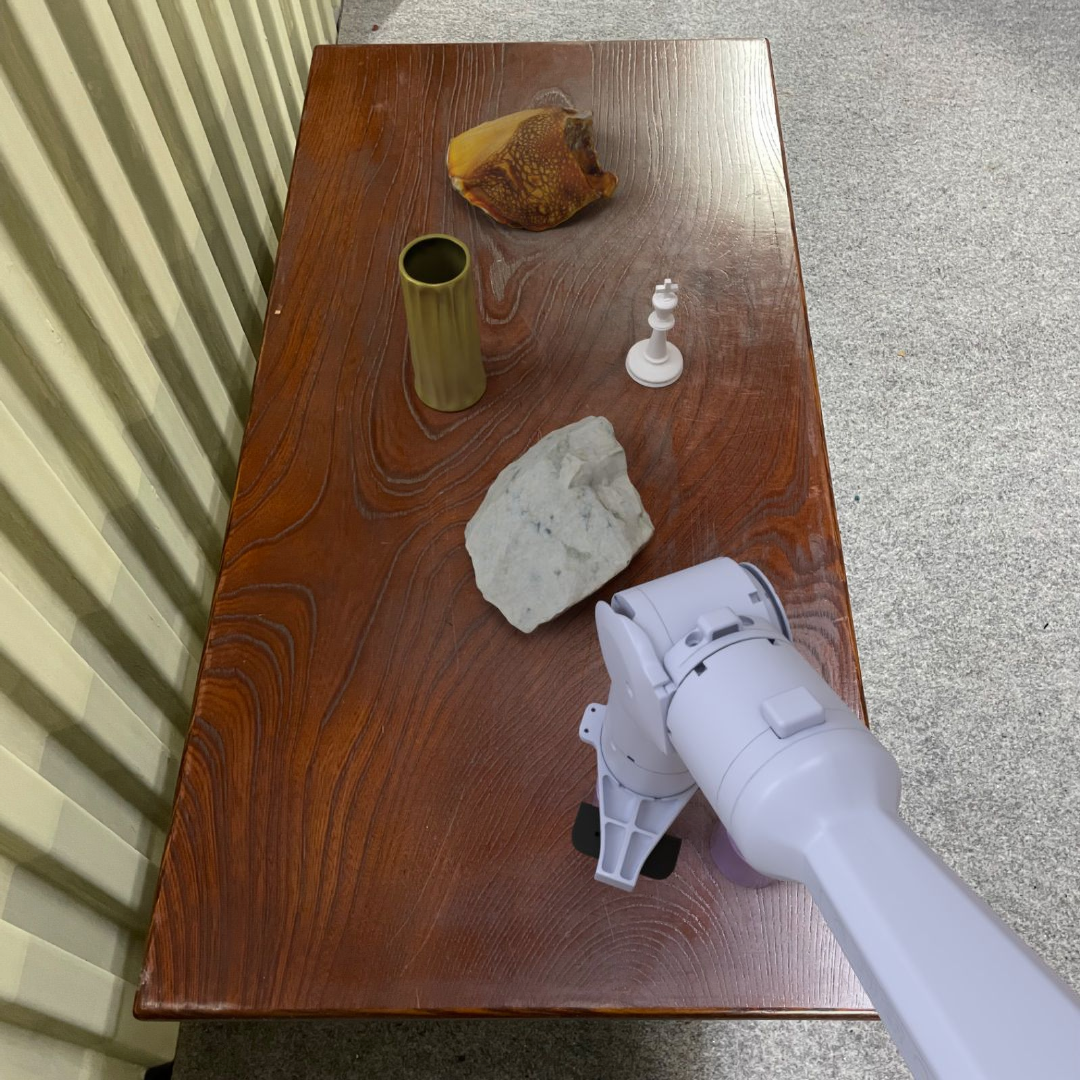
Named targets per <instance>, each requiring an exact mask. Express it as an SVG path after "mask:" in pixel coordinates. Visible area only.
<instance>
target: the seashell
mask: <svg viewBox="0 0 1080 1080" xmlns="http://www.w3.org/2000/svg"><path fill="white" fill-rule="evenodd" d="M595 113H596V111H595V110H594V109H589V110H586V109H584V110H578V109H576V108H573V107H566V106H565V107H564V106H558V105H551V104H547V105H544V106H539V107H536V108H535V107H534V108H527V109H524V110H521V111H517V112H513V113H510V114H507V115H504V116H501V117H498V118H496V119H493V120H490V121H484V122H483V123H481V124H478V125H477V126H474V127H472V128H470V129H468V130H466V131H464V132H462V133H460V134H459V135H457V136H455V137H451V138H450V140H449V143H448V147H447V152H446V158H445V159H446V162H445V164H446V167H447V173H448V178H449V180H450V181H451V186H452V188H453V190H454V191H455V192H457V193H459V195H461V197H462V198H464V199H466V200H467V201H468V202H469V203H470V205H471V206H476V207H478V208H479V209H481V210H482V211H483V213H485V214H487V215H489V216H490V217H492V218H493V219H494V220H495V221H496V222H498V223H500V224H502V225H507V226H509V227H511V228H513V229H515V228H517V229H523V228H525V229H527V230H529V231H531V232H541V231H545V230H547V229H553V228H556V227H557V226H558V225H559V224H561V223H564V222H566V221H567V220H568V219H570V218H571V217H572V216H574V215H575V213H577V211H579V210H581V209H583V208H584V207H586V206H587V205H588V204H589V203H591V202H594V201H596V200H598V199H600V198H601V199H602V200H608V199H611V198H612V196H613V195H614V193H615V191H616V189H617V187H618V185H619V184H620V175H619V174H618V173H612V172H611V171H607V170H604V169H603V168H602V167H601V164H600V161H599V157H598V156H599V155H598V151H597V150H596V149H595V132H594V126H593V124H594V122H593V119H592V118H593V117H594V116H595Z"/></svg>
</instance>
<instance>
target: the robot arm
mask: <svg viewBox="0 0 1080 1080" xmlns="http://www.w3.org/2000/svg"><path fill="white" fill-rule="evenodd" d="M594 612H595V613H594V617H595V626H596V630H597V636H598V640H599V645H600V650H601V655H602V658H603V662H604V665H605V667H606V671H607V674H608V676H609V678H610V680H611V682H610V686H609V687H610V688H609V693H608V698H607V703H606V704H602V703H598V702H592V703H589V704H587V706H586V707H585V709H584V713H583V716H582V719H581V721H580V725H579V729H578V737H579V739H580V740H581V741H582V742H584V743H586V744H588V745H590V746H592V747H594V749H595V752H596V763H597V777H598V788H599V807H596V806H593V805H592V804H590V803H587V802H584V801H580V804H579V807H578V810H577V813H576V815H575V819H574V821H573V825H572V829H571V843H572V844H571V845H572V846H573V848H574V849H575V850H576V851H577V852H579V853H580V854H582V855H584V856H588V857H591V858H593V859H596V860H598V861H597V866H596V870H595V873H594V877H593V879H594V880H595V881H598V882H601V883H603V884H606V885H608V886H612V887H614V888H617V889H620V890H622V891H624V892H628V893H632V892H633V890H634V888H635V886H636V884H637V881H638V878H639V875H641V876H644V877H645V878H649V879H652V880H655V881H656V880H657V881H663V880H667V879H668V878H669V877H670V876H671V875H672V874H673V872H674V871H675V869H676V866H677V863H678V859H679V856H680V851H681V847H682V844H683V838H681V837H678V836H676V835H673V834H669V833H666V832H667V831H668V829H669V828H670V827H671V826H672V824H673V823H674V822H675V820H676V819H677V817H678V816H679V814H680V813H681V812H682V810H683V809H684V808H685V806H686V805H687V804H688V802H689V801H690V799H691V798H692V797H693V795H694V794H695V793H696V791H697V790H698V788H700V790H701V792H702V793H703V795H704V797H705V798H706V800H707V801H708V803H709V804H710V805H711V808H712V809H713V811H714V812H715V814H716V815H717V817H718V819H719V818H720V820H721V822H722V823H723V825H724V826H725V828H726V829H727V831H728V832H729V834H730V836H731V837H732V839H733V840H734V842H735V844H736V845H737V847H738V848H739V850H740V852H741V853H742V855H743V856H744V858H745V860H746V861H747V862H748V864H749V865H750V866H751V867H752V868H754V869H755V870H756V871H757V872H759V873H761V874H763V875H765V876H768V877H771V878H774V879H777V880H778V881H782V882H783V881H784V882H787V883H794V884H799V885H804V886H805V888H806V889H807V891H808V893H809V895H810V896H811V898H812V900H813V902H814V903H815V906H816V907H817V909H818V911H819V913H820V914H821V917H822V918H823V919H824V922H825V923H826V925H827V927H828V928H829V930H830V932H831V933H832V935H833V937H834V939H835V941H836V942H837V944H838V946H839V948H840V950H841V951H842V953H843V956H844V957H845V958H846V960H847V962H848V965H849V966H850V967H851V969H852V971H853V973H854V975H855V976H856V978H857V980H858V982H859V984H860V985H861V987H862V989H863V991H864V993H865V994H866V996H867V998H868V999H869V1001H870V1004H871V1005H872V1006H873V1008H874V1010H875V1012H876V1014H877V1015H878V1017H879V1019H880V1021H881V1023H882V1024H883V1026H884V1027H885V1030H886V1031H887V1033H888V1035H889V1037H890V1039H891V1040H892V1042H893V1044H894V1045H895V1047H896V1050H897V1051H898V1053H899V1054H900V1056H901V1058H902V1060H903V1062H904V1063H905V1065H906V1067H907V1069H908V1071H909V1072H910V1074H911V1076H912V1077H913V1079H914V1080H1080V995H1079V994H1078V993H1077V992H1076V991H1075V990H1074V989H1073V988H1072V987H1071V986H1070V985H1069V984H1068V983H1067V982H1066V981H1065V980H1064V979H1063V978H1062V977H1061V976H1060V975H1059V974H1058V973H1057V972H1056V971H1055V970H1054V969H1053V968H1052V967H1051V965H1049V964H1048V963H1047V962H1046V961H1045V960H1044V959H1043V958H1042V957H1041V956H1040V955H1039V954H1038V953H1037V952H1036V951H1035V950H1034V949H1033V948H1032V947H1031V946H1030V945H1029V944H1028V943H1027V942H1026V941H1025V940H1024V939H1023V938H1022V937H1020V935H1019V934H1018V933H1017V932H1016V931H1015V930H1014V929H1013V928H1011V926H1010V925H1009V924H1008V923H1006V921H1005V920H1004V919H1003V918H1002V917H1001V916H1000V915H999V914H998V913H997V912H995V910H994V909H992V907H991V906H990V905H988V903H987V902H986V901H984V900H983V899H982V897H981V896H979V895H978V893H976V891H975V890H974V889H972V888H971V887H970V886H969V885H968V883H966V882H965V881H964V880H963V879H962V878H961V876H959V874H957V872H955V871H954V870H953V868H951V867H950V866H949V865H948V864H947V863H946V862H945V861H944V860H943V859H942V858H941V856H939V855H938V854H937V853H936V851H934V850H933V849H932V848H931V847H930V846H929V845H928V844H927V843H926V841H924V840H923V839H922V838H921V837H920V836H919V835H918V834H917V833H916V832H915V831H914V830H913V829H912V828H911V826H909V825H908V824H907V823H906V822H905V821H904V820H903V819H902V818H901V817H900V816H899V808H900V803H901V795H902V792H903V791H902V790H903V789H902V773H901V769H900V765H899V763H898V762H897V760H896V758H895V757H894V755H893V754H892V753H891V752H890V751H889V750H888V749H887V748H886V747H885V745H884V744H883V743H882V742H881V741H880V740H879V739H878V737H876V735H875V734H874V733H873V731H871V729H869V727H867V725H866V724H865V723H864V722H863V721H862V720H861V719H860V718H859V717H858V716H857V715H856V714H855V712H854V711H853V710H852V709H851V708H850V707H849V705H847V703H846V702H844V700H843V699H842V698H841V697H840V696H839V695H838V694H837V693H836V691H835V690H834V689H833V688H832V687H831V686H830V684H828V682H827V681H826V680H825V679H824V678H823V677H822V676H821V675H820V674H819V673H818V672H817V670H816V669H815V668H814V667H813V666H812V665H811V663H809V661H808V660H807V659H806V658H805V657H804V656H803V655H802V654H801V653H800V652H799V651H798V649H797V648H796V647H795V645H794V639H793V634H792V629H791V626H790V622H789V619H788V615H787V613H786V610H785V608H784V606H783V603H782V601H781V599H780V598H779V596H778V594H777V593H776V589H775V588H774V587H773V585H772V584H771V582H770V580H769V579H768V578H767V576H766V575H765V574H764V573H763V572H762V571H761V569H760V568H759V567H757V566H756V565H754V564H753V563H750V562H748V561H742V562H739V563H737V562H736V561H735V560H733V558H730V557H729V556H725V557H724V556H719V557H716V558H712V559H710V560H707V561H704V562H702V563H698V564H696V565H693V566H690V567H687V568H684V569H682V570H677V571H675V572H673V573H670V574H667V575H664V576H661V577H658V578H655V579H653V580H650V581H646V582H643V583H641V584H639V585H636V586H632V587H630V588H626V589H623V590H621V591H619V592H616V593H614V594H613V596H612V598H611V603H610V604H609V603H607V602H606V601H604V600H598V601H597V603H596V604H595V611H594Z"/></svg>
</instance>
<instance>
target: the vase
mask: <svg viewBox="0 0 1080 1080" xmlns="http://www.w3.org/2000/svg"><path fill="white" fill-rule="evenodd" d="M398 270H399V278H400V284H401V289H402V295H403V300H404V308H405V314H406V315H405V316H406V323H407V329H408V330H407V331H408V339H409V347H410V355H411V363H412V367H413V368H412V369H413V372H414V390H415V392H416V395H417V396H418V398H419V400H420V401H421V402H422V403H423V404H425V405H426V406H428V407H429V408H431V409H433V410H436V411H440V412H447V413H452V412H458V411H459V412H460V411H462V410H466V409H468V408H470V407H472V406H473V405H475V404H476V403H477V402H478V401H479V400H480V399H481V398H482V397H483V395H484V393H485V391H486V390H487V381H488V379H487V373H486V370H485V367H484V363H483V358H482V351H481V350H482V349H481V338H480V336H481V335H480V329H479V320H478V315H477V313H478V312H477V307H476V296H475V295H476V294H475V284H474V283H475V282H474V273H473V264H472V257H471V254H470V250H469V249H468V247H467V245H466V244H465V243H464V242H463V241H461V240H460V239H458V238H456V237H454V236H452V235H450V234H444V233H429V234H425V235H421V236H419V237H416V238H415V239H412V241H410V242H409V243H407V244H406V246H405V247H403V249H402V250H401V252H400V254H399V257H398Z"/></svg>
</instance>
